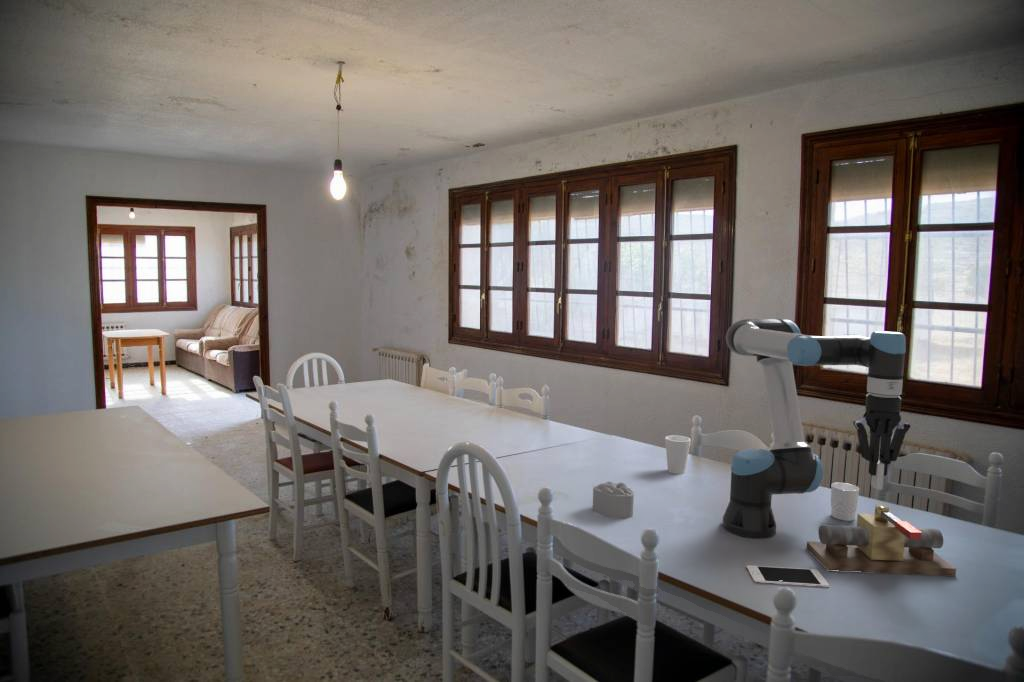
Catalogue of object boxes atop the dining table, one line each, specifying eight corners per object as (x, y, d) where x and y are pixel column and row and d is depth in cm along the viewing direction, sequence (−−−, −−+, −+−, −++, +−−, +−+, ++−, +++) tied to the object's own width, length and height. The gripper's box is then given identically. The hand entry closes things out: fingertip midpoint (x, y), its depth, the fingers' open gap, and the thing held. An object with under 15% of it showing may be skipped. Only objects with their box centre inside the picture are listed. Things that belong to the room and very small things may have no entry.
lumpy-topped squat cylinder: (609, 502, 216) (610, 477, 215) (640, 513, 207) (641, 487, 206) (588, 509, 210) (589, 483, 209) (619, 521, 200) (620, 494, 199)
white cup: (825, 517, 206) (827, 486, 205) (833, 510, 212) (835, 480, 211) (852, 523, 201) (855, 492, 200) (860, 517, 206) (862, 486, 205)
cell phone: (745, 568, 171) (745, 564, 170) (816, 572, 169) (817, 569, 169) (754, 584, 162) (754, 581, 162) (829, 589, 160) (830, 585, 160)
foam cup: (669, 466, 257) (671, 434, 255) (692, 470, 251) (694, 437, 250) (660, 472, 249) (661, 439, 248) (683, 477, 244) (684, 443, 242)
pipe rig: (828, 571, 169) (831, 528, 167) (806, 548, 182) (809, 508, 181) (955, 576, 167) (959, 533, 166) (924, 552, 181) (927, 512, 180)
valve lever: (908, 544, 158) (909, 530, 157) (872, 516, 175) (873, 504, 175) (921, 544, 157) (922, 531, 157) (884, 517, 175) (885, 505, 174)
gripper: (864, 396, 156) (856, 492, 159) (919, 398, 156) (911, 493, 158) (849, 391, 164) (843, 482, 166) (902, 392, 163) (895, 483, 166)
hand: (876, 487), depth 162 cm, fingers closed
